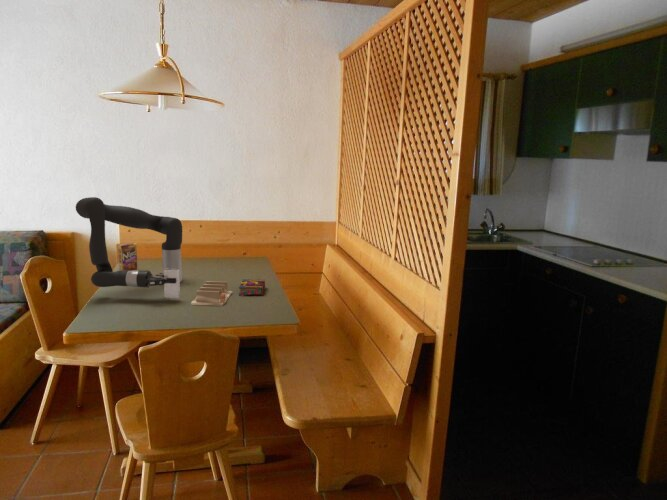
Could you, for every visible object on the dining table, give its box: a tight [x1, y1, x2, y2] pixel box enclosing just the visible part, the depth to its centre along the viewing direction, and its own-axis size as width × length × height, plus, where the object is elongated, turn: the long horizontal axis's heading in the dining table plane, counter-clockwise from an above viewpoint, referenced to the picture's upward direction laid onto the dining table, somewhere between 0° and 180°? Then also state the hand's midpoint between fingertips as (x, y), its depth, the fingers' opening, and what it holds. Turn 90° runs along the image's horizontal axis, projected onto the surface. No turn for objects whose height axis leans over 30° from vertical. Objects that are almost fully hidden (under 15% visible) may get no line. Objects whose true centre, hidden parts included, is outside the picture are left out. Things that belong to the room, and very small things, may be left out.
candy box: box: [117, 242, 138, 271], centre depth 285 cm, size 9×4×15 cm, turn 134°
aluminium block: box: [163, 268, 181, 299], centre depth 232 cm, size 3×6×13 cm, turn 89°
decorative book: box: [238, 278, 266, 297], centre depth 252 cm, size 11×16×5 cm
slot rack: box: [190, 280, 233, 307], centre depth 238 cm, size 20×14×6 cm
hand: (176, 279), depth 232 cm, fingers closed on aluminium block, 3 cm apart
